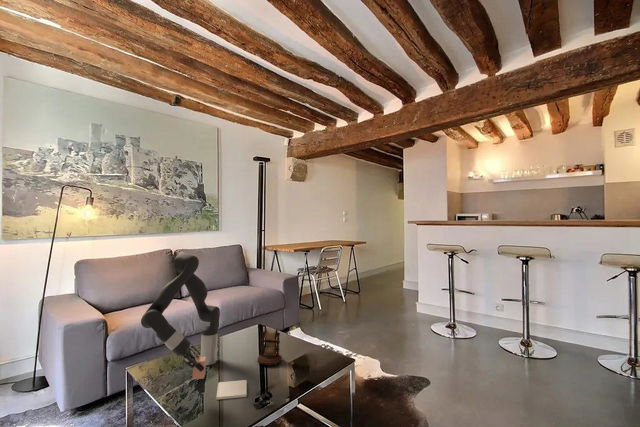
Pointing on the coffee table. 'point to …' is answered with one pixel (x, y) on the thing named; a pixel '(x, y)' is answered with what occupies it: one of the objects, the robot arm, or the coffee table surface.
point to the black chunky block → (262, 401)
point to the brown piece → (270, 348)
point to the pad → (231, 389)
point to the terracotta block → (196, 372)
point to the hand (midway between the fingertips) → (203, 367)
